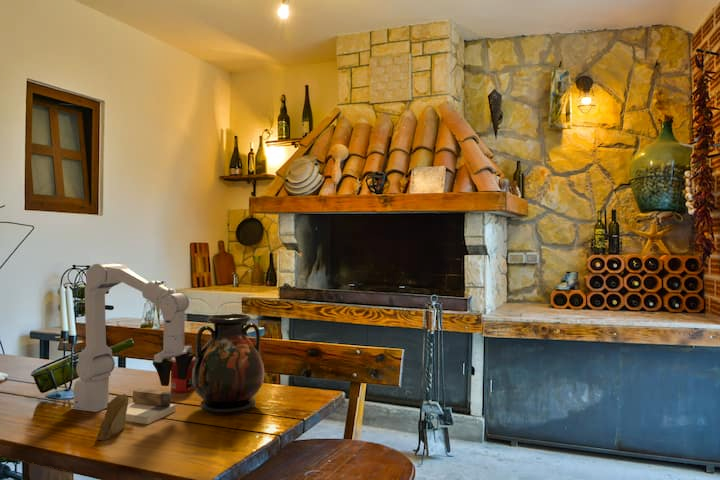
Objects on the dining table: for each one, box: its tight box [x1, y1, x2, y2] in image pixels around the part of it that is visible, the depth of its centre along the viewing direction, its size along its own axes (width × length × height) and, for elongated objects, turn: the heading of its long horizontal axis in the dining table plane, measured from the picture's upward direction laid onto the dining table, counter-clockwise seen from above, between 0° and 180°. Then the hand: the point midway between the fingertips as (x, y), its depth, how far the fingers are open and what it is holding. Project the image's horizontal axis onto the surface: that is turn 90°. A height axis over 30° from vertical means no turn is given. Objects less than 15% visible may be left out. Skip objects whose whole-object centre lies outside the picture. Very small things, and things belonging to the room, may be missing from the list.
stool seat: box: [126, 402, 176, 425], centre depth 157 cm, size 13×13×2 cm
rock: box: [95, 393, 129, 441], centre depth 142 cm, size 11×9×10 cm
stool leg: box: [132, 388, 172, 406], centre depth 162 cm, size 12×3×4 cm, turn 72°
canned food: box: [170, 356, 196, 394], centre depth 184 cm, size 8×8×11 cm
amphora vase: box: [192, 313, 265, 416], centre depth 165 cm, size 22×22×28 cm
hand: (173, 382), depth 156 cm, fingers open, 7 cm apart
